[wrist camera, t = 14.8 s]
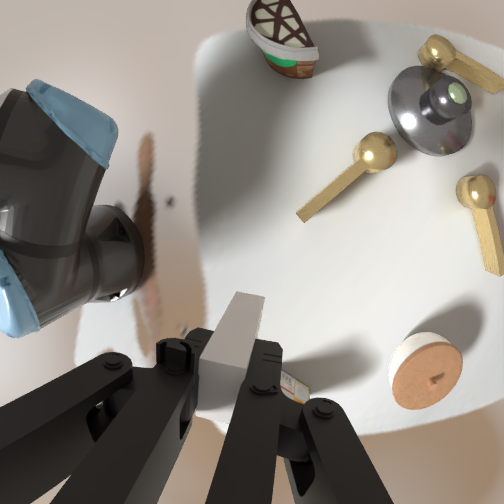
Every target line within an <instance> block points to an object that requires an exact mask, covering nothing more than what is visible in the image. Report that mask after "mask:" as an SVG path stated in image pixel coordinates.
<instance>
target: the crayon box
mask: <svg viewBox="0 0 504 504" xmlns="http://www.w3.org/2000/svg"><path fill="white" fill-rule="evenodd" d="M280 386H281V390H282V392H283V393H284V394H285V395H286V396H287V397H289V398H290V399H292V400H294V401H297V402H299V403H302V404H305V402H306V401H308V400H310V389H309V387H308V386H305V385H304V384H302V383H301V382H299V381H297V380H296V379H294V378H293V377H291V376H290V375H288V374H287V373H285V372H284V371H282V370H281V381H280Z"/></svg>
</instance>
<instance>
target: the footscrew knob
mask: <svg viewBox="0 0 504 504" xmlns="http://www.w3.org/2000/svg"><path fill="white" fill-rule="evenodd" d="M396 157H397V150H396V146H395V144H394V142H393V141H392V139H391V138H390V137H389V136H387V135H386V134H384V133H381V132H372V133H369V134H368V135H366V136H365V137H364V138H363V139H362V140H361V141H360V142H359V143H358V144H357V145H356V146H355V148H354V150H353V159H354V163H353V164H352V165H350V166H349V167H348V168H347V169H346V170H345V171H343V172H342V173H341V174H340V175H339V176H338V177H336V178H335V179H334V180H333V181H332V182H331V183H329V184H328V185H327V186H326V187H325V188H324V189H322V190H321V191H320V192H319V193H318V194H316V195H315V196H314V197H313V198H312V199H311V200H309V201H308V202H307V203H306V204H305V205H304V206H302V207H301V208H300V209H299V210H298V211H297V212H296V214H297V215H298V217H299V218H300V219H301V220H302V221H303V222H304V223H305V222H306V221H307V220H308V219H310V218H311V217H312V216H313V215H314V214H316V213H317V212H318V211H319V210H320V209H321V208H323V207H324V206H325V205H326V204H327V203H328V202H330V201H331V200H332V199H333V198H334V197H335V196H337V195H338V194H339V193H340V192H341V191H342V190H344V189H345V188H346V187H347V186H348V185H349V184H351V183H352V182H353V181H354V180H355V179H356V178H358V177H359V176H360V175H361V174H362V173H363V172H365V173H376V172H379V171H382V170H385V169H388V168H389V167H391V166H392V165H393V164H394V162H395V160H396Z"/></svg>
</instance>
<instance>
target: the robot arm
mask: <svg viewBox="0 0 504 504" xmlns="http://www.w3.org/2000/svg"><path fill="white" fill-rule="evenodd" d="M117 138H118V127H117V124H116V122H115V121H114V120H113V119H112V118H111V117H110V116H108V115H106V114H105V113H103V112H102V111H100V110H98V109H96V108H95V107H93V106H91V105H89V104H87V103H86V102H84V101H82V100H80V99H78V98H76V97H74V96H72V95H70V94H68V93H66V92H64V91H62V90H60V89H58V88H56V87H53V86H51V85H49V84H47V83H44V82H43V81H41V80H38V79H35V80H33V81H32V82H31V83H30V84H29V85H28V86H27V88H26V92H24V91H20V90H16V89H13V88H10V89H9V90H7V91H6V92H4V93H3V94H1V95H0V331H2V332H3V333H4V334H6V335H7V336H9V337H12V338H20V337H23V336H25V335H27V334H30V333H32V332H37V331H39V330H40V329H41V328H42V327H44V326H46V325H48V324H50V323H51V322H53V321H55V320H57V319H58V318H60V317H62V316H64V315H66V314H67V313H69V312H71V311H73V310H75V309H76V308H78V307H80V306H82V305H84V304H86V303H97V302H113V301H116V300H119V299H121V298H122V297H124V296H126V295H127V294H129V293H130V292H131V291H133V289H134V288H135V287H136V286H137V284H138V282H139V280H140V278H141V275H142V271H143V265H144V252H143V245H142V241H141V238H140V235H139V233H138V230H137V228H136V227H135V225H134V223H133V222H132V220H131V219H130V218H129V217H128V216H127V215H126V214H125V213H124V212H123V211H121V210H120V209H118V208H116V207H113V206H110V205H96V206H93V204H94V201H95V198H96V195H97V192H98V189H99V187H100V184H101V181H102V178H103V176H104V173H105V171H106V169H108V167H109V160H110V157H111V154H112V151H113V149H114V146H115V143H116V140H117ZM264 299H265V297H263V296H258V295H252V294H247V293H242V292H236V293H235V295H234V297H233V299H232V300H231V302H230V304H229V306H228V308H227V309H226V311H225V313H224V315H223V317H222V318H221V320H220V322H219V324H218V326H217V327H216V329H215V331H211V330H207V329H203V328H196V329H194V330H192V331H190V332H189V333H188V334H187V336H186V337H185V339H184V340H183V339H178V338H167V339H163V340H160V341H159V342H157V343H156V362H157V364H156V365H155V366H154V368H141V367H133V366H132V362H131V359H130V358H129V357H128V356H126V355H124V354H121V353H117V352H108V353H104V354H101V355H99V356H97V357H95V358H93V359H92V360H90V361H88V362H86V363H84V364H82V365H80V366H78V367H77V368H75V369H73V370H71V371H69V372H67V373H66V374H63V375H62V376H60V377H58V378H56V379H54V380H52V381H51V382H48V383H46V384H44V385H43V386H41V387H39V388H37V389H35V390H33V391H31V392H29V393H27V394H25V395H23V396H21V397H19V398H18V399H16V400H14V401H12V402H10V403H8V404H6V405H4V406H2V407H0V504H30V503H32V502H33V501H35V500H36V499H38V498H39V497H41V496H42V495H43V494H45V493H46V492H48V491H49V490H51V489H52V488H53V487H55V486H56V485H58V484H59V483H60V482H62V481H63V480H64V479H66V478H67V477H68V476H70V475H71V474H72V475H71V476H70V477H69V479H68V480H67V481H66V483H65V484H64V485H63V487H62V488H61V489H60V491H59V492H58V493H57V495H56V496H55V497H54V499H53V500H52V501H51V503H50V504H157V502H158V500H159V497H160V495H161V493H162V491H163V489H164V486H165V484H166V482H167V480H168V478H169V476H170V473H171V471H172V469H173V467H174V464H175V462H176V460H177V458H178V455H179V453H180V451H181V449H182V446H183V444H184V442H185V440H186V437H187V435H188V433H189V430H190V428H191V426H192V416H193V413H194V411H195V409H196V416H198V417H203V418H206V419H210V420H214V421H218V422H223V423H227V424H229V427H228V431H227V434H226V437H225V441H224V445H223V447H222V451H221V454H220V457H219V461H218V464H217V467H216V470H215V474H214V477H213V480H212V483H211V486H210V490H209V493H208V496H207V499H206V502H205V504H271V502H272V494H273V484H274V476H275V475H274V474H275V467H276V456H277V455H278V456H281V457H283V458H284V463H285V467H286V471H287V474H288V478H289V482H290V486H291V490H292V494H293V497H294V501H295V504H394V503H393V501H392V499H391V498H390V496H389V494H388V492H387V490H386V488H385V487H384V484H383V483H382V481H381V479H380V477H379V475H378V473H377V471H376V470H375V468H374V466H373V464H372V462H371V460H370V458H369V456H368V454H367V453H366V451H365V449H364V447H363V445H362V443H361V442H360V440H359V438H358V436H357V434H356V432H355V430H354V428H353V427H352V425H351V423H350V421H349V419H348V417H347V416H346V414H345V412H344V410H343V409H342V407H341V406H340V405H339V404H338V403H336V402H334V401H333V400H330V399H326V398H313V399H310V400H308V401H306V402H305V404H302V403H299V402H297V401H294V400H292V399H290V398H289V397H287V396H286V395H285V394H284V393H283V392H282V390H281V386H280V381H281V368H282V353H283V349H282V348H281V346H280V345H279V343H277V342H271V341H266V340H260V339H257V338H258V332H259V327H260V321H261V316H262V310H263V304H264ZM100 402H102V403H101V404H100V405H97V404H99V403H100ZM96 405H97V406H96Z"/></svg>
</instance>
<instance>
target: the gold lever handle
mask: <svg viewBox="0 0 504 504" xmlns="http://www.w3.org/2000/svg"><path fill="white" fill-rule="evenodd" d="M456 194H457V198H458V200H459V202H460V203H461V205H463V206H464V207H467V208H471V211H472V214H473V218H474V221H475V225H476V229H477V233H478V237H479V241H480V245H481V250H482V254H483V259H484V264H485V270H486V271H488V272H491V273H493V274H495V275H497V276H499V277H500V276H502V275H503V274H504V256H503V250H502V245H501V240H500V235H499V230H498V226H497V222H496V218H495V214H494V210H493V204H494V202H495V198H496V190H495V186H494V183H493V181H492V180H491V179H490V178H489V177H488V176H486V175H477V176H467V177H462V178H461V179H460V180H459V181H458V183H457V187H456Z"/></svg>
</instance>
